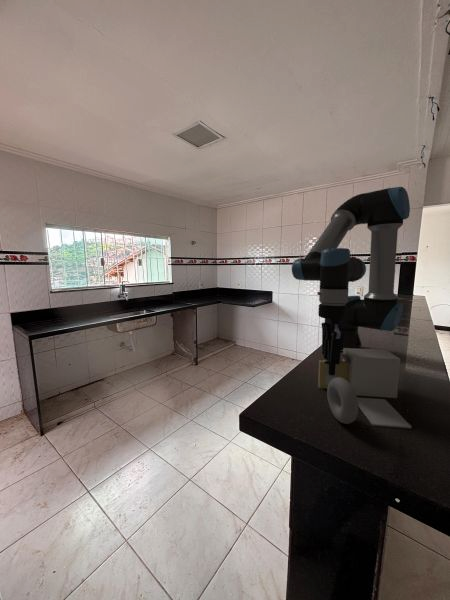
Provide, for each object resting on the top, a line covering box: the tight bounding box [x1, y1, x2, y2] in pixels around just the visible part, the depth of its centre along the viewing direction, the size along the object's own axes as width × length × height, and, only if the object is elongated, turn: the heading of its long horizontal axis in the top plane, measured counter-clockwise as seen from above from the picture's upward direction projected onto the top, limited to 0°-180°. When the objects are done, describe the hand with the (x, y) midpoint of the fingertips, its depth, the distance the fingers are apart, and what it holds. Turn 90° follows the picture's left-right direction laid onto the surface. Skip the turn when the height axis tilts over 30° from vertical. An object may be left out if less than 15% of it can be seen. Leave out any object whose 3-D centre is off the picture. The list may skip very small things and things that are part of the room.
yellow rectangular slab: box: [317, 359, 349, 390], centre depth 74 cm, size 2×11×8 cm, turn 82°
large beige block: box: [341, 348, 401, 399], centre depth 73 cm, size 8×13×11 cm, turn 82°
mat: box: [357, 397, 413, 429], centre depth 62 cm, size 12×8×1 cm, turn 172°
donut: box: [326, 377, 359, 425], centre depth 58 cm, size 10×4×10 cm, turn 4°
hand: (329, 382), depth 75 cm, fingers closed on yellow rectangular slab, 2 cm apart
